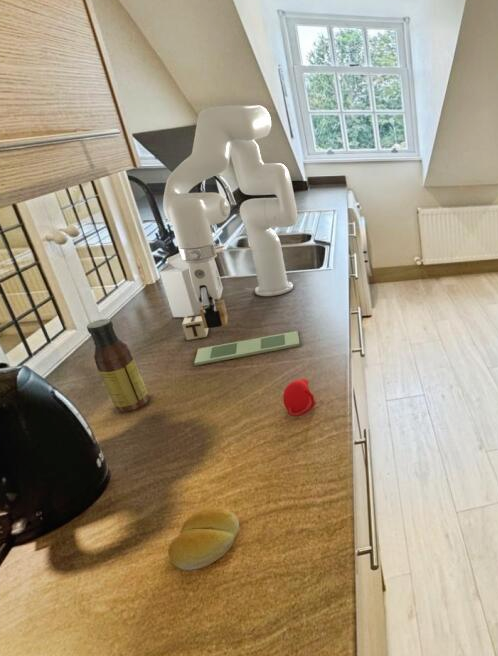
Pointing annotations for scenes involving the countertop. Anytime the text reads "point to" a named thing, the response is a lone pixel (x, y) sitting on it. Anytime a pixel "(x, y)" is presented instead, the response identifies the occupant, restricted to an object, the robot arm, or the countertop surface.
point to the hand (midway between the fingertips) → (216, 321)
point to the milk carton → (179, 287)
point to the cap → (298, 398)
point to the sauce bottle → (117, 367)
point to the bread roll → (204, 538)
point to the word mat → (246, 348)
